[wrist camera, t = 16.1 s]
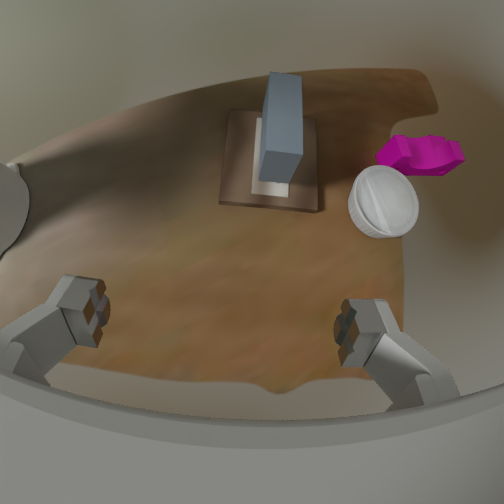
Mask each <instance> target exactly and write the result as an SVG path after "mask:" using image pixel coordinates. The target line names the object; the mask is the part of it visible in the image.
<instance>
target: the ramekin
mask: <svg viewBox="0 0 504 504" xmlns="http://www.w3.org/2000/svg"><path fill="white" fill-rule="evenodd" d="M348 208H349V213H350V216H351V219H352V220H353V222H354V223H355V225H356V226H357V227H358V229H360V230H361V231H362V232H363V233H365V234H366V235H368V236H370V237H374V238H388V237H389V238H394V237H399V236H402V235H404V234H406V233H407V232H408V231H410V230H411V229H412V228H413V226H414V225H415V223H416V221H417V218H418V213H419V202H418V198H417V195H416V192H415V190H414V188H413V186H412V184H411V183H410V181H409V180H408V179H407V178H406V177H405V176H404V175H403V174H402V173H400V172H399V171H397V170H396V169H394V168H391V167H388V166H384V165H374V166H371V167H368V168H366V169H364V170H363V171H362V172H361V173H360V174H359V175H358V176H357V178H356V179H355V181H354V184H353V188H352V190H351V192H350V195H349V199H348Z"/></svg>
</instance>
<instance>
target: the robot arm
mask: <svg viewBox="0 0 504 504" xmlns="http://www.w3.org/2000/svg"><path fill="white" fill-rule="evenodd" d="M28 209H29V191H28V187H27V185H26V183H25V181H24V180H23V179H22V178H21V176H20V172H19V167H18V165H17V164H15V163H11V164H8V165H5V164H3V163H2V162H0V256H1V254H2V253H3V252H4V251H5V250H6V249H7V248H8V247H9V246H10V245H12V244H13V242H14V241H15V240H16V239H17V237H18V236H19V234H20V232H21V230H22V228H23V226H24V224H25V221H26V218H27V214H28ZM105 290H106V286H105V283H104V281H103V280H101V279H95V278H89V277H82V276H74V275H68V274H66V275H64V276H63V277H62V278H61V280H60V281H59V283H58V284H57V286H56V287H55V289H54V290H53V292H52V293H51V295H50V297H49V298H48V300H47V301H46V303H45V305H44V304H41V305H39V306H37V307H36V308H34V309H32V310H31V311H29V312H28V313H26V314H24V315H23V316H21V317H20V318H18V319H16V320H15V321H13V322H12V323H10V324H9V325H7V326H6V327H4V328H2V329H1V330H0V504H504V383H503V384H501V385H498V386H495V387H491V388H488V389H485V390H482V391H479V392H475V393H472V394H468V395H465V396H460V393H459V391H458V388H457V386H456V384H455V381H454V379H453V377H452V374H451V372H450V370H449V369H448V368H447V367H446V366H445V365H443V364H442V363H441V362H440V361H439V360H437V359H436V358H435V357H434V356H433V355H431V354H430V353H429V352H428V351H427V350H425V349H424V348H423V347H422V346H421V345H419V344H418V343H417V342H416V341H414V340H413V339H412V338H411V337H409V336H408V335H407V334H405V333H404V332H400V329H399V327H398V325H397V323H396V320H395V318H394V316H393V314H392V312H391V310H390V307H389V305H388V303H387V301H386V300H385V299H345V300H344V301H343V302H342V305H341V310H342V313H340V314H339V315H338V316H337V317H336V320H335V323H334V330H333V331H334V339H335V342H336V343H337V344H338V345H339V346H340V348H339V350H338V355H339V359H340V363H341V367H363V368H364V369H365V371H366V372H367V373H368V374H369V375H370V376H371V377H372V379H373V380H374V381H375V382H376V383H377V384H378V385H379V387H380V388H381V389H382V390H383V391H384V392H385V393H386V395H387V396H388V397H389V398H390V399H391V401H392V402H393V404H391V406H390V407H389V408H388V409H387V410H386V411H385V412H383V413H375V414H368V415H359V416H350V417H339V418H325V419H306V420H243V419H225V418H211V417H199V416H190V415H181V414H173V413H166V412H159V411H152V410H146V409H140V408H135V407H129V406H124V405H119V404H114V403H110V402H105V401H101V400H97V399H92V398H89V397H85V396H81V395H77V394H73V393H70V392H67V391H63V390H60V389H56V388H53V387H51V386H50V384H49V383H48V382H47V380H46V379H45V377H44V375H45V374H46V373H47V372H49V370H51V369H52V368H53V367H54V366H55V365H56V364H57V363H58V362H59V361H60V360H62V359H63V358H64V357H65V356H66V355H67V354H68V353H69V352H70V351H71V350H73V349H74V348H75V347H76V345H81V346H87V347H93V348H97V347H98V345H99V342H100V340H101V337H102V335H103V332H102V330H101V328H102V327H104V326H105V325H106V324H107V323H108V320H109V317H110V310H111V309H110V301H109V298H108V297H107V296H106V295H105V294H104V292H105Z"/></svg>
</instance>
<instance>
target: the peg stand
mask: <svg viewBox="0 0 504 504" xmlns="http://www.w3.org/2000/svg"><path fill="white" fill-rule="evenodd" d="M261 126H262V112H257V111H246V110H235V109H230V112H229V119H228V127H227V135H226V143H225V151H224V160H223V168H222V177H221V186H220V196H219V204H223V205H235V206H247V207H258V208H269V209H280V210H290V211H299V212H309V213H315V212H316V211H317V210H318V183H317V141H316V119H310V118H304V117H303V156H302V158H301V160H300V162H299V164H298V166H297V168H296V170H295V172H294V174H293V176H292V178H291V180H290V182H289V184H287V183H278V182H268V181H258V172H259V157H260V142H261Z"/></svg>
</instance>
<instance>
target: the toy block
mask: <svg viewBox="0 0 504 504" xmlns="http://www.w3.org/2000/svg"><path fill="white" fill-rule="evenodd" d="M375 156H376V159H377V163H378V165H384V166H388V167H391V168H394V169H396V170H397V171H399V172H400V173H402V174H403V175H404V176H405V175H406V176H443V175H445V174H446V173H448V172H449V171H451V170H452V169H454V168H455V167H456V166H458V165H459V164H461V163H462V162H464V161H465V158H464V155H463V153H462V150H461V147H460V145H459V142H457V141H450V140H449V141H447V142H446V139H445V137H440V136H432V135H429V136H426V137H420V138H408V137H405V136H404V135H394V136H393V137H392V138H391V139H390V140H389V141H388V142H387V144H386V145H385V146H384V147H383V148H382V149H381V150H380V151H379V152H378V153H377V154H376V155H375Z"/></svg>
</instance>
